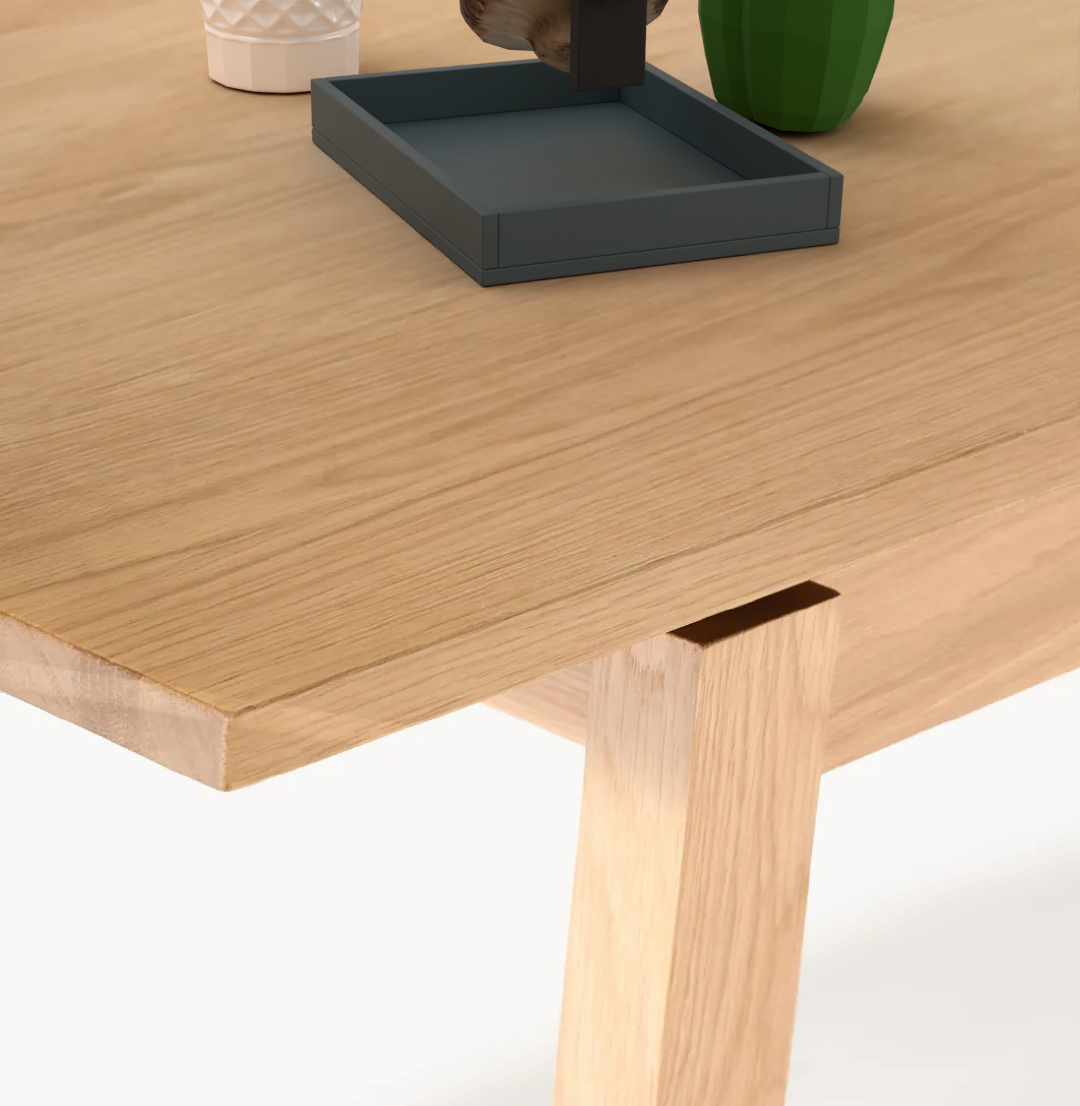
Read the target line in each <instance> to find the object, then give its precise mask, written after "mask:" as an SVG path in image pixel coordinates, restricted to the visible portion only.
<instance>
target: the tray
mask: <svg viewBox="0 0 1080 1106" xmlns="http://www.w3.org/2000/svg"><path fill="white" fill-rule="evenodd" d="M310 83H311V91H310V116H311V117H310V118H311V141H312V142H313V143H314V144H315V145H316V146H317V147H319V148H320V149H321V150H322V151H323V152H324V153H325V154H327V155H328V156H329V157H330V158H331V159H333V160H334V161H335V162H336V163H337V164H339V166H340V167H342V168H343V169H344V170H345V171H346V172H348V173H349V174H350V175H351V176H352V177H354V178H355V179H356V180H357V181H359V182H360V183H361V184H362V185H363V186H364V187H366V188H367V189H368V190H369V191H370V192H371V193H372V194H373V195H375V196H376V197H377V198H378V199H380V200H381V201H382V202H383V203H384V204H385V205H386V206H388V207H389V208H390V209H391V210H393V212H395V213H396V214H397V215H398V216H399V217H401V218H402V219H403V220H404V222H406V223H408V224H409V226H411V227H412V228H414V229H415V230H416V231H417V232H418V233H419V234H421V236H423V237H424V238H425V239H427V240H428V242H430V243H431V244H432V245H433V246H435V247H436V248H437V249H438V250H439V251H441V253H443V254H444V255H445V256H446V257H447V258H449V259H450V260H451V261H452V262H453V263H455V264H456V265H457V266H458V267H459V268H460V269H462V270H463V271H464V272H465V273H466V274H467V275H469V276H470V277H471V278H472V279H474V280H475V281H476V283H478V284H479V285H481V287H487V286H496V285H504V284H512V283H513V284H514V283H521V282H529V281H530V282H531V281H536V280H537V281H538V280H545V279H546V280H547V279H553V278H563V277H571V276H580V275H586V274H596V273H603V272H604V273H605V272H611V271H619V270H626V269H627V270H628V269H635V268H636V269H637V268H643V267H651V266H652V267H653V266H661V265H669V264H677V263H684V262H685V263H686V262H692V261H701V260H708V259H709V260H710V259H717V258H725V257H733V256H741V255H743V256H744V255H750V254H759V253H767V252H775V251H785V250H791V249H799V248H807V247H816V246H823V245H824V246H825V245H832V244H838V243H839V242H840V235H841V234H840V233H841V229H840V227H841V221H842V220H841V219H842V208H843V207H842V205H843V194H844V182H845V181H844V180H845V176H844V175H845V174H843V173H842V172H840V171H838V170H836V169H835V168H833V167H831V166H829V165H827V164H826V163H824V162H822V161H821V160H819V159H817V158H816V157H813V156H812V155H810V154H808V153H806V152H805V151H803V150H801V149H800V148H798V147H796V146H794V145H793V144H791V143H789V142H787V141H786V140H784V139H782V138H781V137H779V136H777V135H776V134H774V133H772V132H770V131H768V130H767V129H765V128H763V127H762V126H759V125H758V124H756V123H755V122H754V121H749V120H747V119H746V118H744V117H742V116H741V115H739V114H737V113H735V112H734V111H732V110H730V109H728V108H727V107H725V106H723V105H721V104H720V103H718V102H717V100H715V99H713V98H711V97H709V96H708V95H706V94H704V93H703V92H701V91H699V90H697V89H695V88H694V87H692V86H691V85H689V84H687V83H685V82H683V81H682V80H680V79H678V78H676V77H674V76H673V75H671V74H669V73H668V72H665V71H664V70H663V69H660V68H659V67H657V66H655V65H654V64H652V63H650V62H648V61H647V60H645V85H639V86H629V87H619V88H609V89H599V90H589V91H579V92H577V91H576V90H574V89H573V88H571V87H569V83H570V73H566V72H562V71H560V70H558V69H556V68H553V67H551V66H549V65H547V64H546V63H544V62H542V61H541V60H540V59H539V58H538V57H537V58H527V59H525V58H524V59H516V60H504V61H493V62H483V63H469V64H459V65H450V66H447V65H446V66H438V67H437V66H436V67H427V68H426V67H425V68H416V69H404V70H403V69H402V70H393V71H381V72H370V73H359V74H358V75H347V76H336V77H325V78H315V79H311V80H310Z"/></svg>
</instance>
